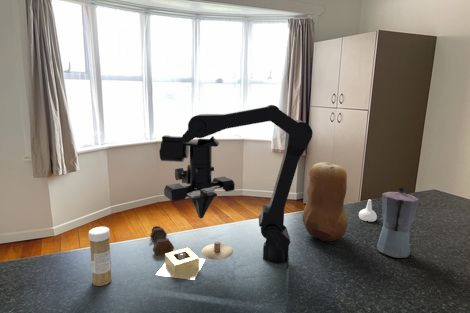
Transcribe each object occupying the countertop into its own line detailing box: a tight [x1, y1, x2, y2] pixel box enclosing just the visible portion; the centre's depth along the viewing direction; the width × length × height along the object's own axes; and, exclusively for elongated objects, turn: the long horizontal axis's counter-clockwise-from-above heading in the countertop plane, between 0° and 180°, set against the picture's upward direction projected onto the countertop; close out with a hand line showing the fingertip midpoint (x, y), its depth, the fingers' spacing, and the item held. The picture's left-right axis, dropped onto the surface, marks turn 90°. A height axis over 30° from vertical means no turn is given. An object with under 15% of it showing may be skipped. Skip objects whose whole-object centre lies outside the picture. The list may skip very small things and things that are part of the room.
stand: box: [201, 241, 234, 260], centre depth 89 cm, size 9×9×4 cm
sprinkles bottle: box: [88, 226, 113, 287], centre depth 74 cm, size 5×5×13 cm
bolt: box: [149, 225, 175, 256], centre depth 93 cm, size 6×5×15 cm
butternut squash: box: [302, 161, 348, 243], centre depth 98 cm, size 14×13×25 cm
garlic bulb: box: [358, 199, 378, 223], centre depth 117 cm, size 6×6×8 cm
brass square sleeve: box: [164, 247, 200, 276], centre depth 80 cm, size 7×7×3 cm
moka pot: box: [376, 186, 420, 259], centre depth 90 cm, size 10×15×20 cm, turn 155°
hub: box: [155, 252, 206, 281], centre depth 80 cm, size 10×10×4 cm
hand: (200, 217), depth 85 cm, fingers closed
